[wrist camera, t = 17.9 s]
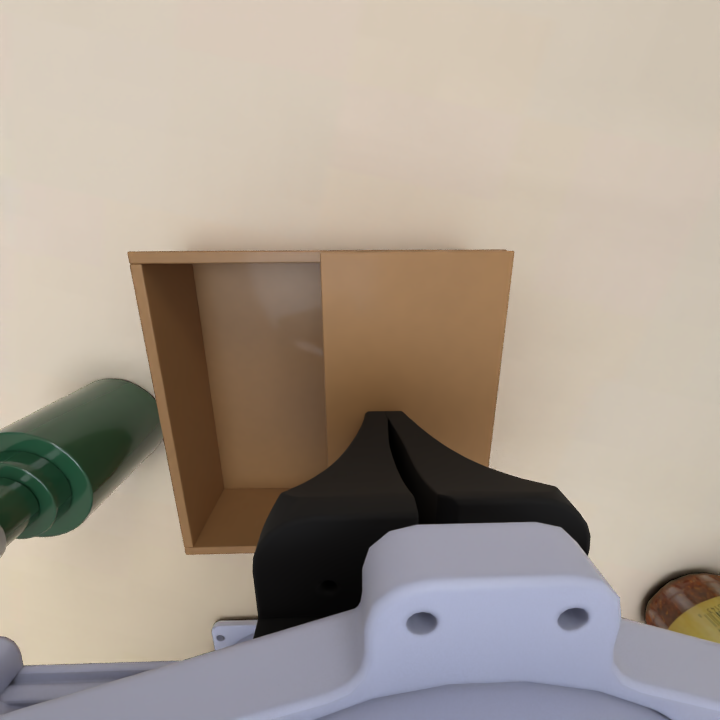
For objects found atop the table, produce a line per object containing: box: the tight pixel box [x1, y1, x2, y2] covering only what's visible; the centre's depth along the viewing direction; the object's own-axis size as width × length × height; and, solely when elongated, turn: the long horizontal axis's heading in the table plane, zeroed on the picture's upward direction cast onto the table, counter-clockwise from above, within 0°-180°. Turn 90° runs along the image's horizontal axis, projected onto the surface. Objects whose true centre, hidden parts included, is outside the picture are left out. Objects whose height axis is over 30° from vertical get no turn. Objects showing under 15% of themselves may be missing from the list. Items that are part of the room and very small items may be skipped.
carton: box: [128, 250, 507, 555], centre depth 16 cm, size 13×13×4 cm
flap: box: [320, 251, 514, 467], centre depth 13 cm, size 6×13×1 cm, turn 0°
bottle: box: [0, 379, 163, 558], centre depth 14 cm, size 5×5×8 cm
